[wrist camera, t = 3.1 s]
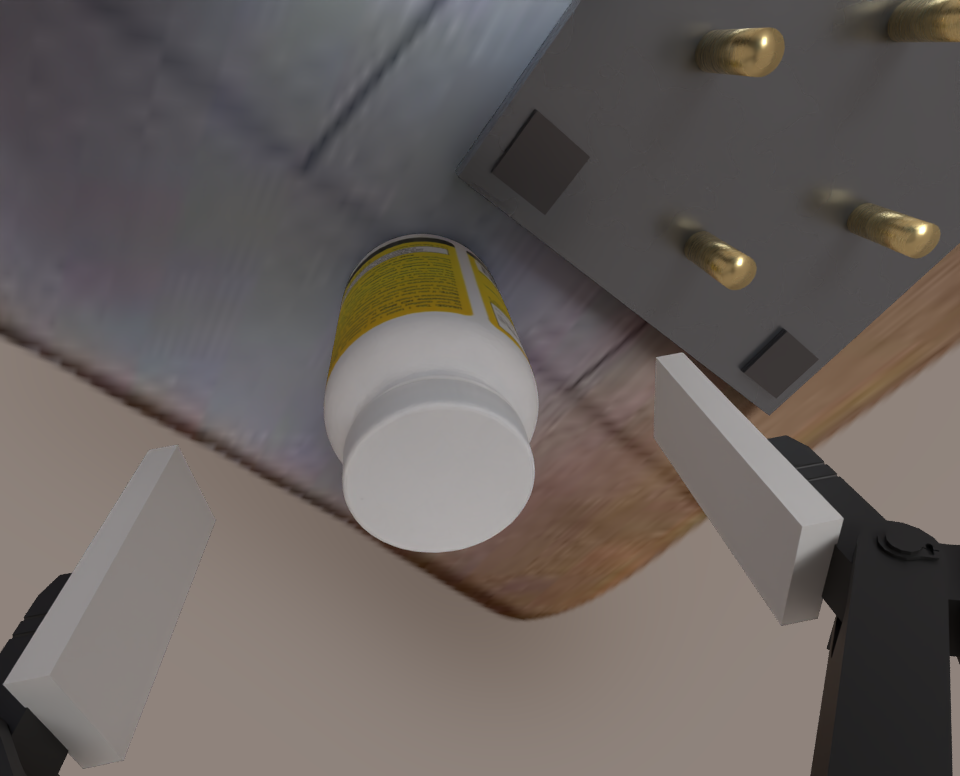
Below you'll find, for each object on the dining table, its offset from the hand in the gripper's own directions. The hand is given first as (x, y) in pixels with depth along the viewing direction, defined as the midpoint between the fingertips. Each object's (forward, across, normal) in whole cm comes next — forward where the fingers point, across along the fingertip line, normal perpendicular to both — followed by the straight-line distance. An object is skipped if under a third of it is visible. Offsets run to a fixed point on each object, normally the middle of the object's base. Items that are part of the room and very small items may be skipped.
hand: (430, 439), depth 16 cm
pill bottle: (+9, 0, 0) cm, 9 cm away
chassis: (+8, +14, +5) cm, 17 cm away
